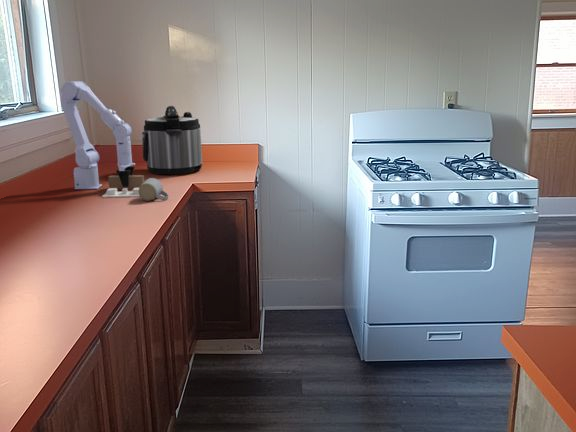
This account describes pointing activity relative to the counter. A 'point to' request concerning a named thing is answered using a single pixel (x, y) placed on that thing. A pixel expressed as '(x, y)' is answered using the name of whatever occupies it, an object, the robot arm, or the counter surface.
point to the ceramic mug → (152, 190)
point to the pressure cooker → (172, 143)
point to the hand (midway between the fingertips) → (126, 185)
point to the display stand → (121, 193)
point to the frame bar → (134, 182)
